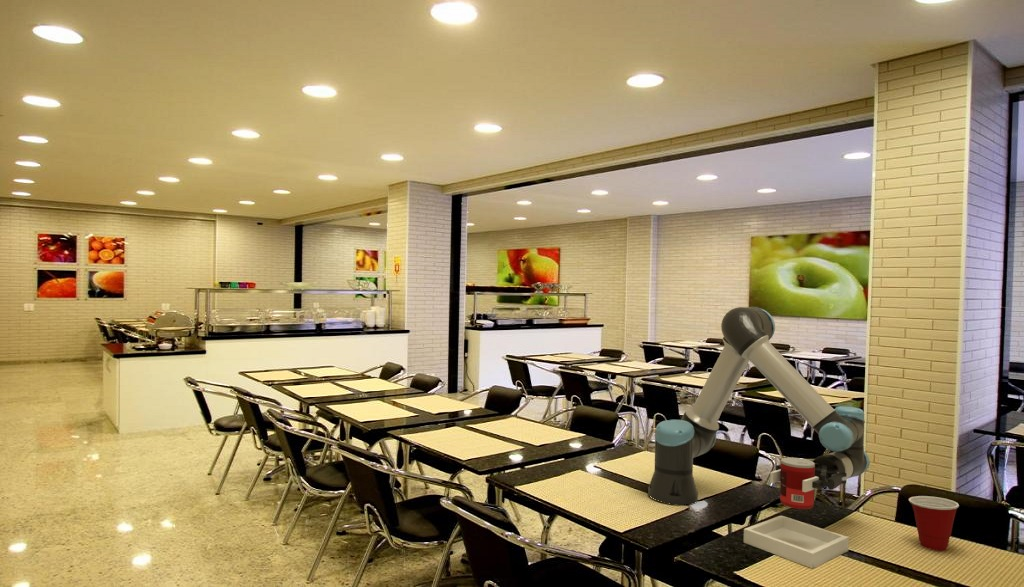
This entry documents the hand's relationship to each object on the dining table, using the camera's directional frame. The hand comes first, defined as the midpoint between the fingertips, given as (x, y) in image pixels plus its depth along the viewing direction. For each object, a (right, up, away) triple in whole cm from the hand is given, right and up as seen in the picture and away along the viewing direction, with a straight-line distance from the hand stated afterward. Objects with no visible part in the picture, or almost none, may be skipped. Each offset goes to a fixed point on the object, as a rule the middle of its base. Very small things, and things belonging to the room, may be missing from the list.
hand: (787, 481), depth 153 cm
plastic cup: (+40, -19, +5) cm, 45 cm away
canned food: (+4, -7, +3) cm, 8 cm away
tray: (+3, -17, +3) cm, 18 cm away
